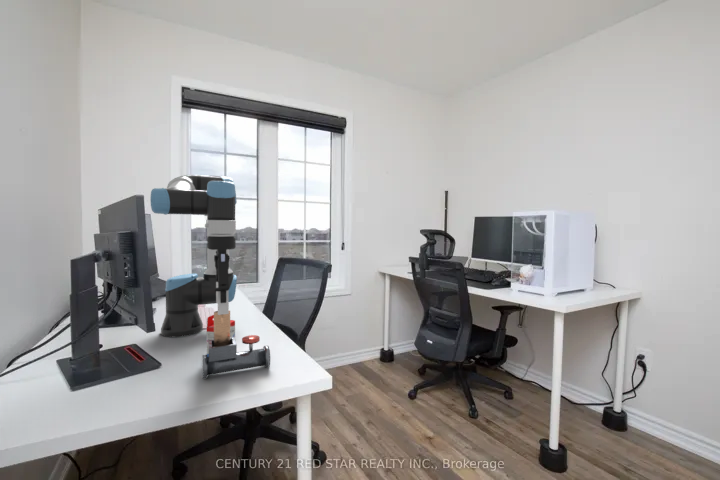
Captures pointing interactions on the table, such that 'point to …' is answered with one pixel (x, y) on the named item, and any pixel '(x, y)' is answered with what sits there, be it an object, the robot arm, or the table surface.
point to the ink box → (211, 330)
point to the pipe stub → (221, 329)
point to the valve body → (234, 357)
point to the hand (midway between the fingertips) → (222, 308)
